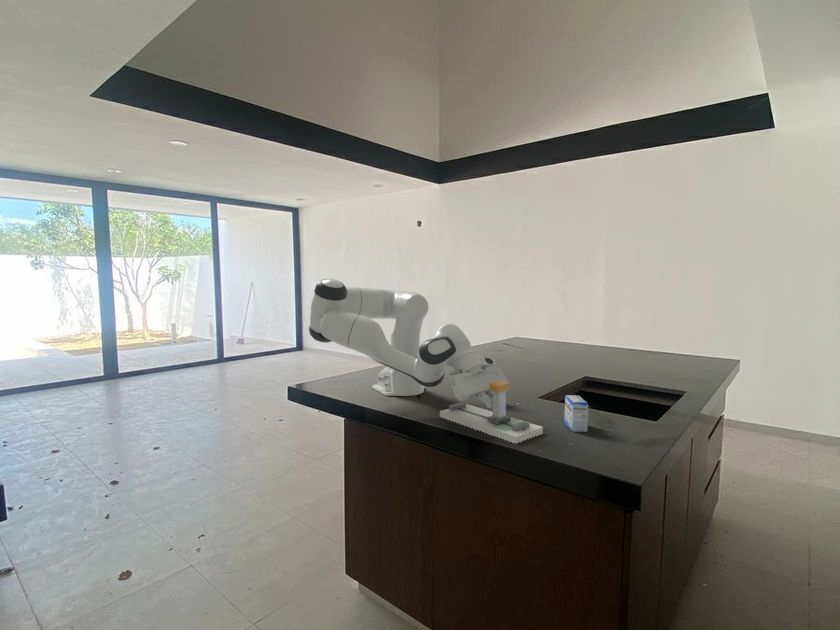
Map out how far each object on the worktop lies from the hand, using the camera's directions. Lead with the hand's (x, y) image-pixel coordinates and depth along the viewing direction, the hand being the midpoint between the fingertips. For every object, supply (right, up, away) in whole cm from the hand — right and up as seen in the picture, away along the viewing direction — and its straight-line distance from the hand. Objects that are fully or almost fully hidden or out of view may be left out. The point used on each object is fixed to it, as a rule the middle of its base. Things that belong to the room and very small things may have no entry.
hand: (493, 406), depth 129 cm
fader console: (-1, -6, +3) cm, 7 cm away
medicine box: (+24, -6, 0) cm, 25 cm away
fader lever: (+1, -4, -1) cm, 4 cm away
